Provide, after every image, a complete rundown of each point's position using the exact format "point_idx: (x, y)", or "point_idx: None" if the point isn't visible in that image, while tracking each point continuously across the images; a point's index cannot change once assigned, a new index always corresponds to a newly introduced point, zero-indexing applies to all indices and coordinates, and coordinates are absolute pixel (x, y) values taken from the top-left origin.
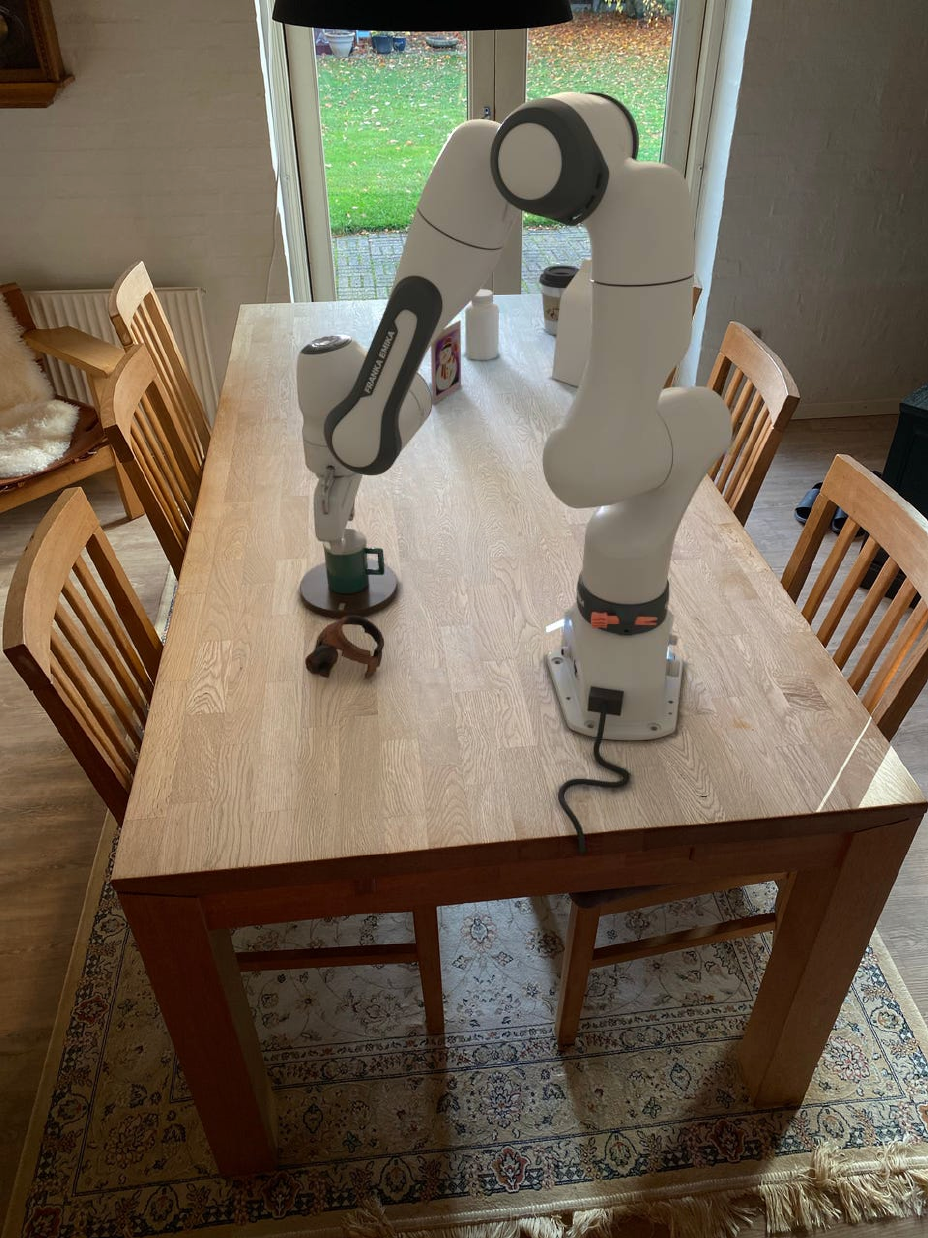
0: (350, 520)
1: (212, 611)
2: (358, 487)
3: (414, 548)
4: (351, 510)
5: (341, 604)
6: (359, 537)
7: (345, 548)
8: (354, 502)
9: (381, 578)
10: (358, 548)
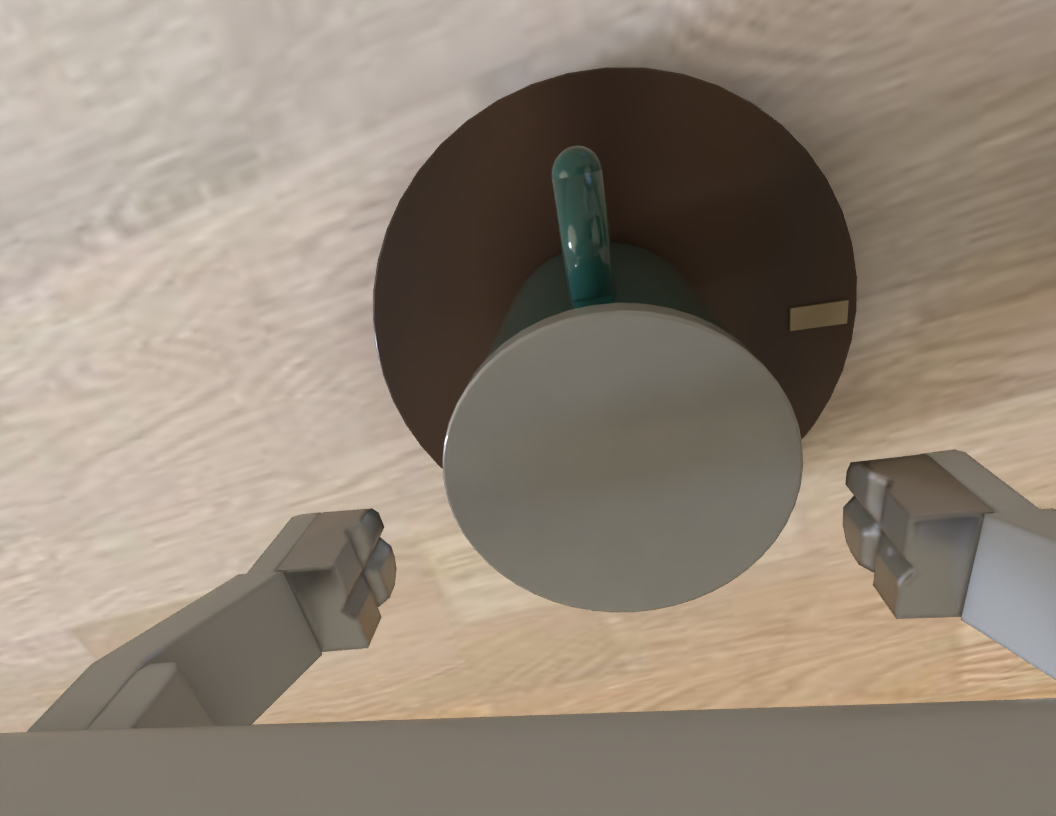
0: (379, 521)
1: (784, 704)
2: (1, 752)
3: (153, 122)
4: (324, 577)
5: (798, 323)
6: (550, 386)
7: (746, 446)
8: (214, 601)
9: (527, 189)
10: (737, 343)
